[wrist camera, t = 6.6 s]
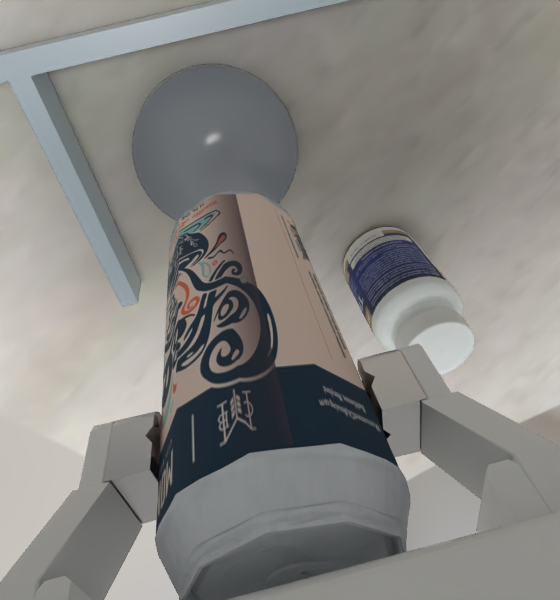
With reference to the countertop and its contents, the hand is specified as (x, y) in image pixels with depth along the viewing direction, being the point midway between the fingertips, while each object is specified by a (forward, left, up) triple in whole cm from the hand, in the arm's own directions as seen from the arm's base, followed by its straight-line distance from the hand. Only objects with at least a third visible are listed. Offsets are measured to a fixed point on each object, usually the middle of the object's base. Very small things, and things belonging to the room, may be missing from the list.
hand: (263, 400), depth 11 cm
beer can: (0, 0, -8) cm, 8 cm away
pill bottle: (-9, +10, -19) cm, 23 cm away
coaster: (0, 0, -19) cm, 19 cm away
